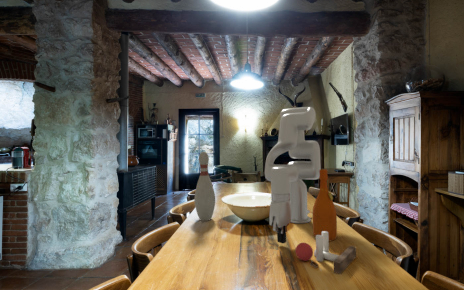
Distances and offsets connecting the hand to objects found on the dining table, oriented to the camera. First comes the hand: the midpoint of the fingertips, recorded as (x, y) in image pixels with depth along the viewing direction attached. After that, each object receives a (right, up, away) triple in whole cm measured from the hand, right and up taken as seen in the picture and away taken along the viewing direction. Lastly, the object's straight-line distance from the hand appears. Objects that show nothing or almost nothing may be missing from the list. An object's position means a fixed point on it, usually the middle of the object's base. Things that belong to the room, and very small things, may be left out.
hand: (281, 242), depth 105 cm
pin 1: (+11, -1, -13) cm, 17 cm away
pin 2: (+14, -1, -10) cm, 17 cm away
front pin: (+11, 0, -10) cm, 14 cm away
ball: (+5, +1, -13) cm, 14 cm away
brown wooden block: (+19, -1, -17) cm, 25 cm away
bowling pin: (-35, -2, +39) cm, 53 cm away
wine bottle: (+20, -1, +7) cm, 22 cm away
